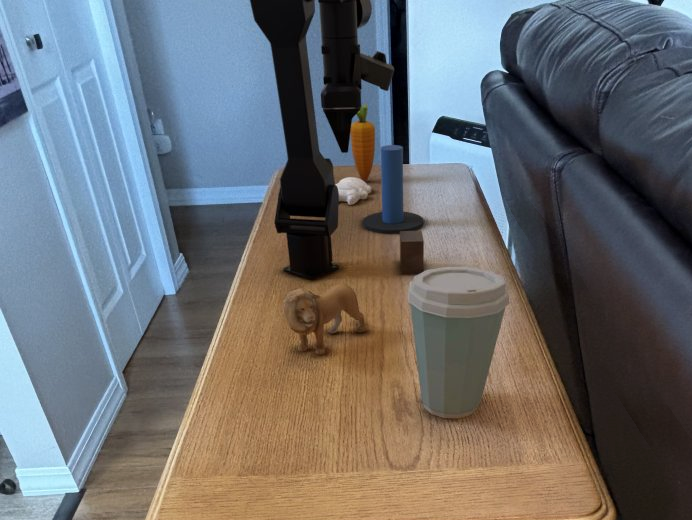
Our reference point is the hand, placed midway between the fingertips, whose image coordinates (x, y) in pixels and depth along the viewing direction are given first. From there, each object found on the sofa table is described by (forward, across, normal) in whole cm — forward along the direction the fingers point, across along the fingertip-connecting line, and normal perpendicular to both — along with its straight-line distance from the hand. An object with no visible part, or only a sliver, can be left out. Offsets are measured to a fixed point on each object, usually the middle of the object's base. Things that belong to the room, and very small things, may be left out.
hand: (345, 145), depth 126 cm
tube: (+6, 0, -8) cm, 10 cm away
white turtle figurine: (+13, +18, +1) cm, 22 cm away
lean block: (+13, -22, -10) cm, 28 cm away
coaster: (+13, 0, -8) cm, 15 cm away
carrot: (+13, +28, -3) cm, 31 cm away
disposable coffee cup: (+13, -66, -13) cm, 68 cm away
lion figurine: (+13, -49, +2) cm, 51 cm away
